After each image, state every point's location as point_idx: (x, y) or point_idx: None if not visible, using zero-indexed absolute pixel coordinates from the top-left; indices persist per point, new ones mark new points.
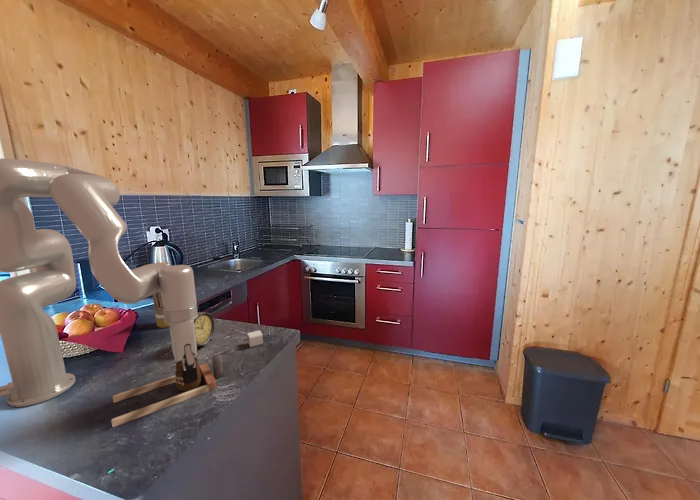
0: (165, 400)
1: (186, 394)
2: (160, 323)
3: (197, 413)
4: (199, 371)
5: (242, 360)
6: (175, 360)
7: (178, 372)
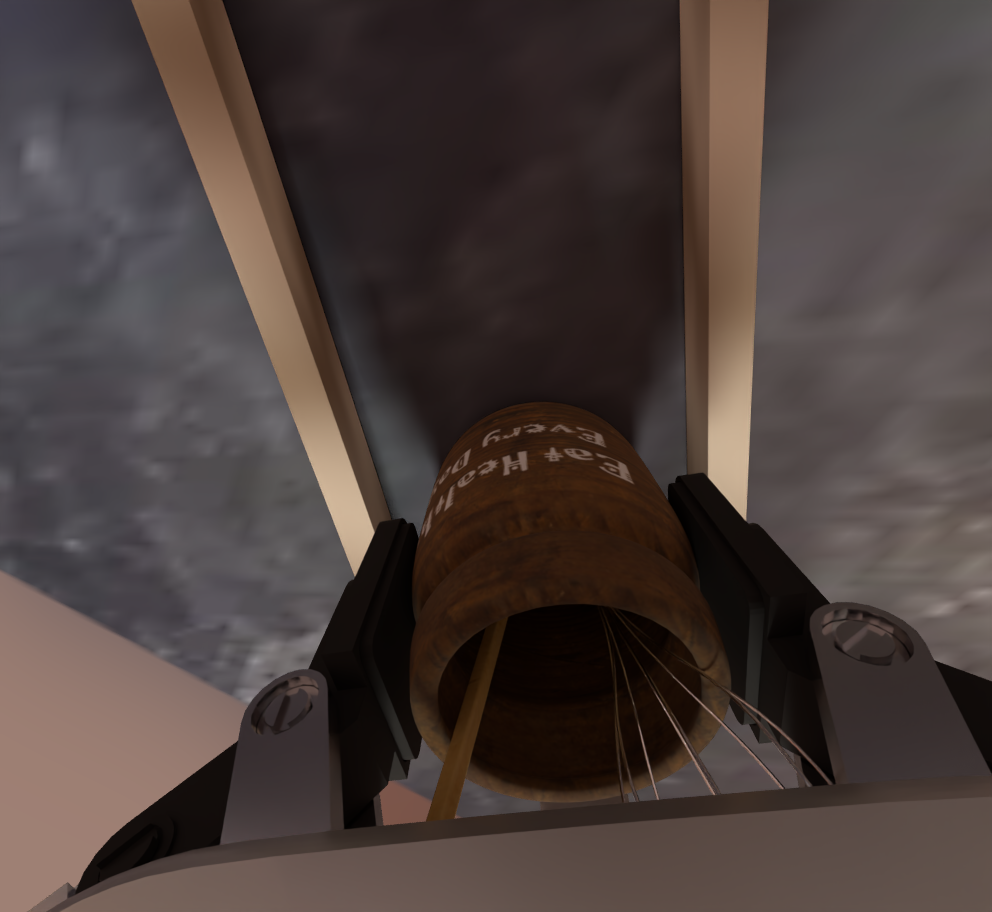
0: (285, 322)
1: (325, 495)
2: None
3: (146, 536)
4: (502, 667)
5: (678, 785)
6: (126, 884)
7: (470, 538)
